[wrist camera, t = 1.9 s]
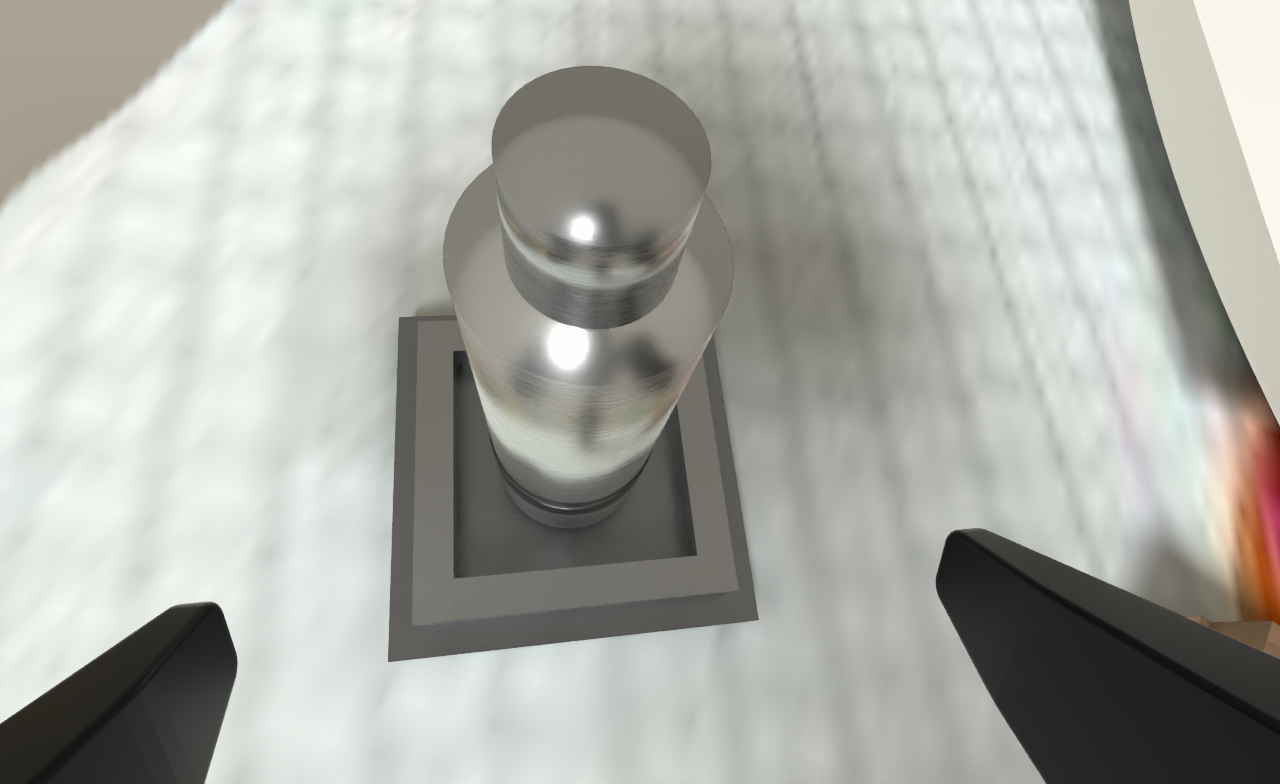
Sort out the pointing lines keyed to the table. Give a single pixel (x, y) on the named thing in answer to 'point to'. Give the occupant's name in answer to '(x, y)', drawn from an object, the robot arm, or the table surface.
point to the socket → (540, 554)
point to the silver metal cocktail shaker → (586, 283)
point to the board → (1225, 150)
